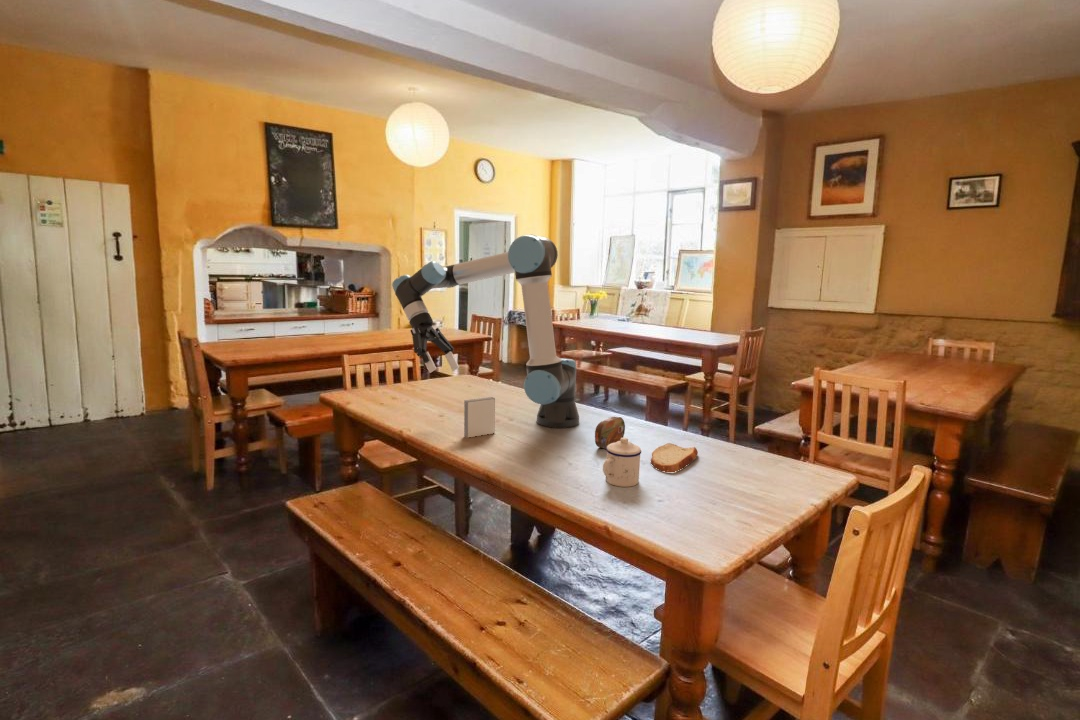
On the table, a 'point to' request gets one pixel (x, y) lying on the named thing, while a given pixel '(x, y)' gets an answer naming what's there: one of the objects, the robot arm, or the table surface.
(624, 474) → the teacup with lid
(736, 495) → the table surface
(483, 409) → the ceramic tile
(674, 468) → the bread slice
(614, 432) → the tin
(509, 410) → the table surface
